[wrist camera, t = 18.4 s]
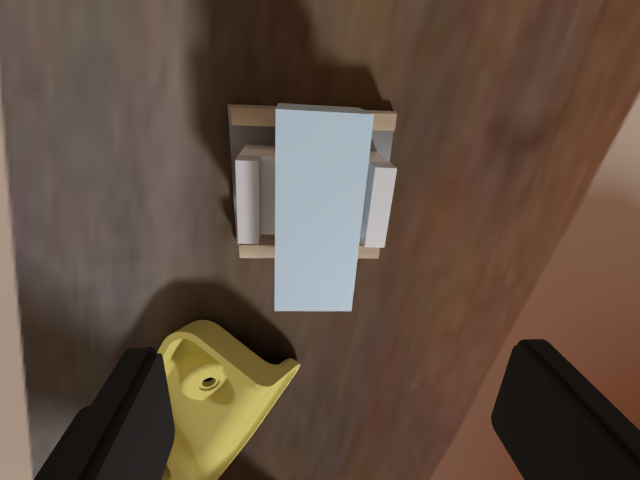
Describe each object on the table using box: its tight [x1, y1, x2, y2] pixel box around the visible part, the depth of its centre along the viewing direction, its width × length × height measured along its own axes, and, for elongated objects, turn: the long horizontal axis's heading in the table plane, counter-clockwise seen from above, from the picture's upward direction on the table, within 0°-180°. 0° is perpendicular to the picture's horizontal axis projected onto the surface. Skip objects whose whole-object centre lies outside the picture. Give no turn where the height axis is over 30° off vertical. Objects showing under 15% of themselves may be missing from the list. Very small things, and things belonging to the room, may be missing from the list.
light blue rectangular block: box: [275, 103, 374, 311], centre depth 20 cm, size 4×11×4 cm, turn 176°
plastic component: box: [157, 320, 300, 480], centre depth 32 cm, size 20×7×10 cm
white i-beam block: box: [235, 144, 397, 248], centre depth 23 cm, size 5×9×5 cm, turn 86°
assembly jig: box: [228, 104, 397, 258], centre depth 24 cm, size 10×11×3 cm
